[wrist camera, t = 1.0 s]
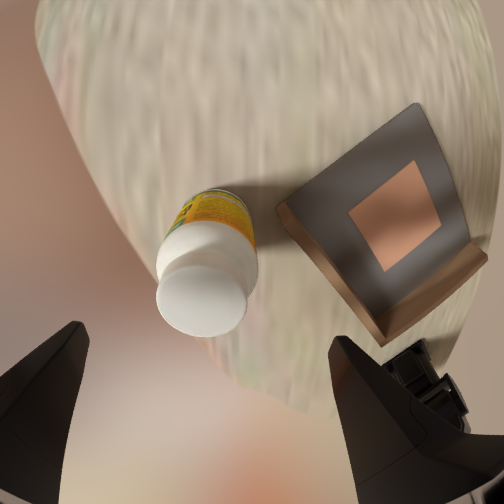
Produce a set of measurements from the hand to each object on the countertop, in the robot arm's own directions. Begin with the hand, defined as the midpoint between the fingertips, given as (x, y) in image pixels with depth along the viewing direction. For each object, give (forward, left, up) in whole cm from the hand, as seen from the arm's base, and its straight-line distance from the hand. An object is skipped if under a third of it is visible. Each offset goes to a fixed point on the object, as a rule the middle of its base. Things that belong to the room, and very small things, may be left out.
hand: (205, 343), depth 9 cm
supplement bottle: (0, +1, -13) cm, 13 cm away
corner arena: (-10, -10, -12) cm, 19 cm away
